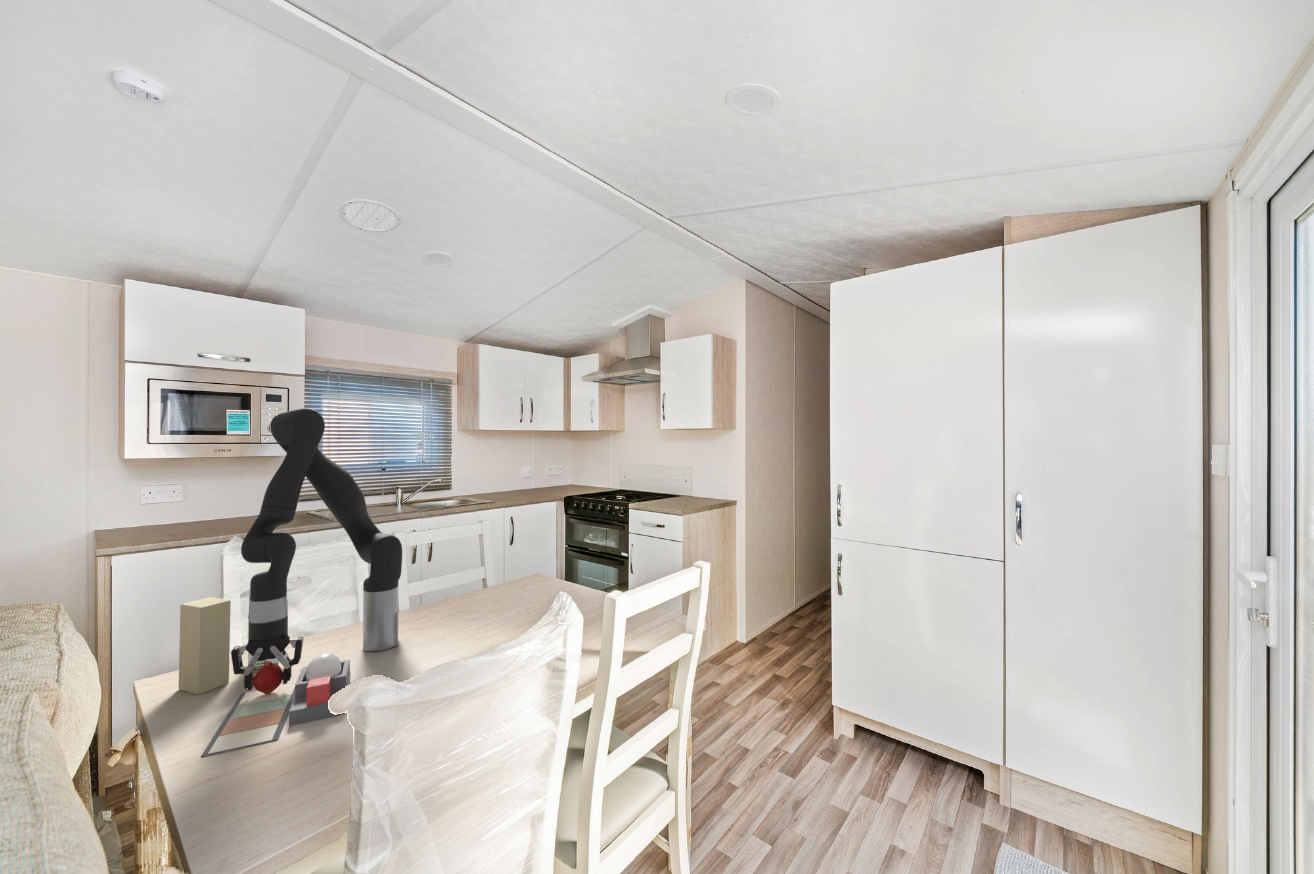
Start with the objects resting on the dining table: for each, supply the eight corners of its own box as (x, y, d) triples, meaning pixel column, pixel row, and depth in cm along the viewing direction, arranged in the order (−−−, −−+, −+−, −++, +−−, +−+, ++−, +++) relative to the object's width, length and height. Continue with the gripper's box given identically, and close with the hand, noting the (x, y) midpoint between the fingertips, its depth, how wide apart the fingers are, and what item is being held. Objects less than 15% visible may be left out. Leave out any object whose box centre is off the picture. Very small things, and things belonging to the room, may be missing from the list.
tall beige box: (233, 681, 127) (233, 598, 128) (199, 695, 121) (199, 607, 121) (212, 676, 130) (213, 595, 130) (178, 689, 123) (178, 604, 123)
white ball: (342, 674, 124) (342, 646, 125) (339, 686, 118) (339, 657, 118) (308, 680, 121) (308, 651, 121) (303, 693, 115) (303, 663, 115)
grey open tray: (350, 683, 126) (350, 659, 126) (343, 713, 112) (343, 686, 112) (302, 692, 122) (302, 667, 122) (288, 725, 108) (289, 697, 108)
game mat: (301, 683, 126) (301, 682, 126) (277, 740, 102) (277, 738, 102) (240, 694, 121) (241, 692, 121) (200, 756, 97) (200, 755, 97)
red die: (330, 693, 115) (330, 675, 115) (328, 701, 112) (328, 683, 112) (309, 697, 113) (309, 679, 114) (306, 705, 110) (306, 687, 110)
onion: (264, 688, 123) (264, 655, 123) (288, 687, 124) (289, 654, 124) (246, 700, 117) (247, 666, 117) (272, 699, 118) (273, 665, 118)
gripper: (307, 607, 127) (306, 673, 127) (235, 615, 121) (234, 685, 121) (302, 616, 121) (301, 686, 120) (225, 626, 114) (224, 700, 114)
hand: (268, 685), depth 121 cm, fingers open, 6 cm apart
